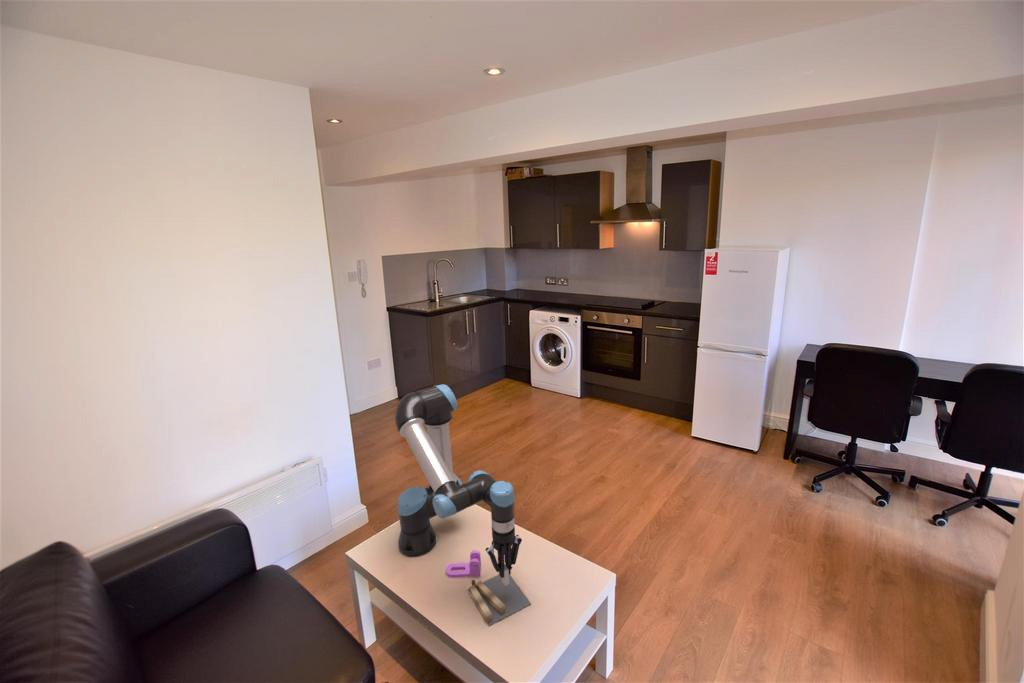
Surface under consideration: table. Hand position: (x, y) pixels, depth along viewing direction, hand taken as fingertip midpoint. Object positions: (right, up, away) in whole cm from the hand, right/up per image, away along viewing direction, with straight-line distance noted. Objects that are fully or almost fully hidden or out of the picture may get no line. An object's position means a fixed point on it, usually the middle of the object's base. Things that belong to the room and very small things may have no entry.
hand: (505, 582), depth 158 cm
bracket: (-16, -3, +13) cm, 21 cm away
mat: (-2, -6, +1) cm, 6 cm away
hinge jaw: (-5, -6, 0) cm, 8 cm away
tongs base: (-8, -7, -2) cm, 11 cm away
